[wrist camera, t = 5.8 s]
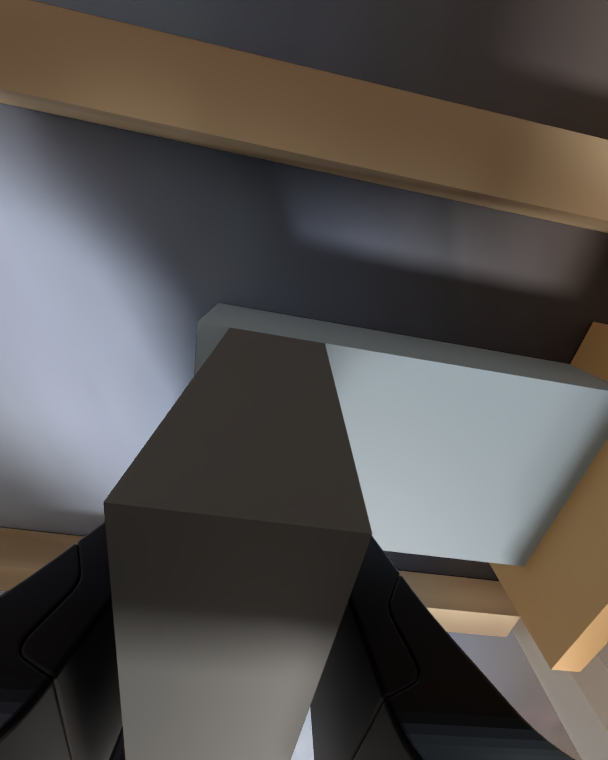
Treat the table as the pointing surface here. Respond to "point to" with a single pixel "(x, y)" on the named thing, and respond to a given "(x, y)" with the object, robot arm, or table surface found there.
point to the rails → (302, 149)
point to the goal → (574, 697)
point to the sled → (341, 514)
